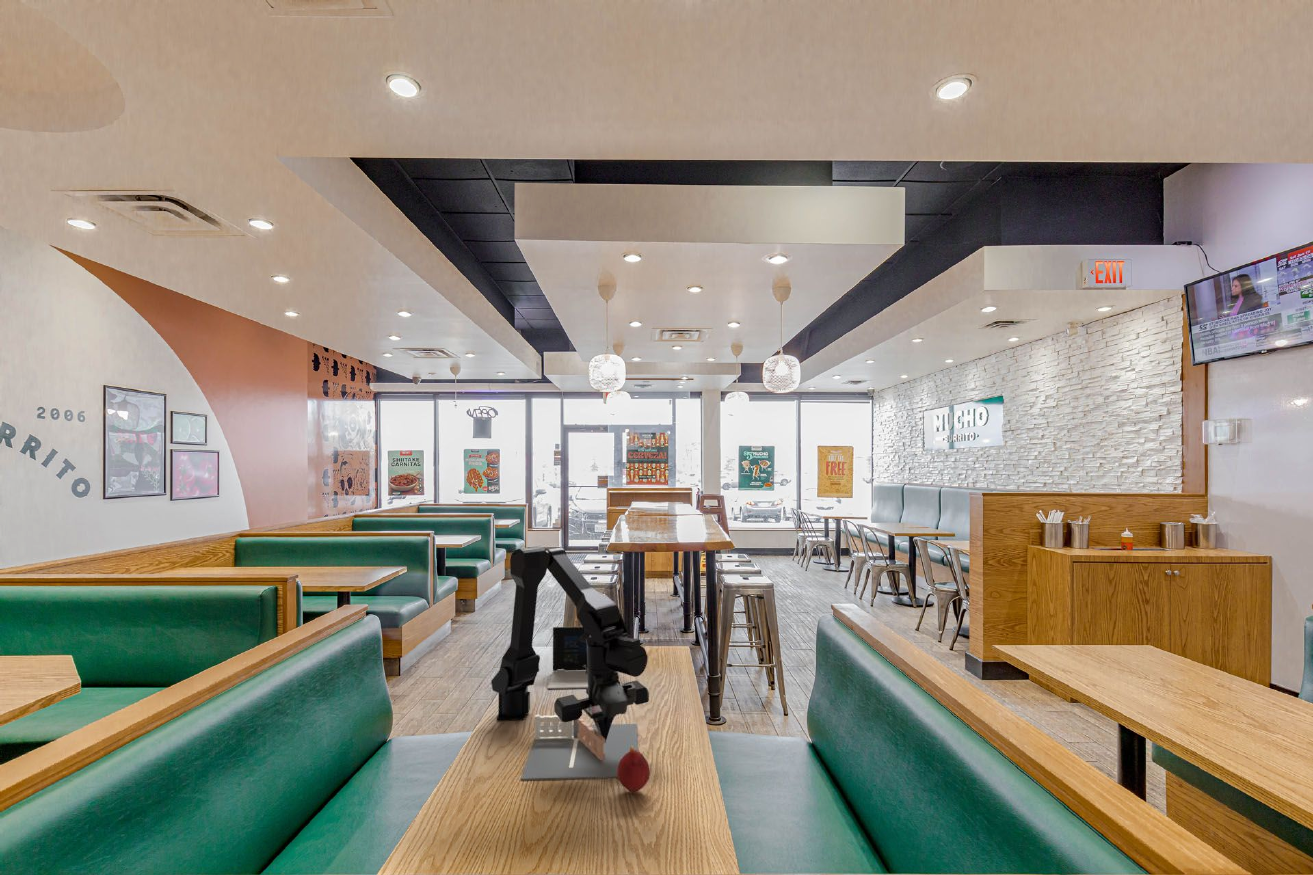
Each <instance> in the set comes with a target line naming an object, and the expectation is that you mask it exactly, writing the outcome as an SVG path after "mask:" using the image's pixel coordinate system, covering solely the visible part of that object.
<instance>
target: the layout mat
mask: <svg viewBox="0 0 1313 875" xmlns="http://www.w3.org/2000/svg"><path fill="white" fill-rule="evenodd" d="M589 725H590V726H591V727H592V728H593V729H595V730H596V731H597V732H598V730H597V728H596V725H595V724H589ZM540 730H544V725H540ZM550 730H553V725H550ZM559 730H561V724H559ZM638 740H639V739H638V724H637V723H621V724H620V723H616V724H615V723H614V724H613V723H612V724H611V727H610V730H609V733H608V736H607V739H606V743H605V744H603V753H604V754H605V759H604V760H599V759H598V758H597V756H596V755H595V754H594V753H592V752H591V750H590V749H589V748H588V747H586V746H585V744H583V743H582V742H581V741H580V740H579V739H578V738H574V737H573V724H572V739H567V737H561V736H558V737H553V736H549V737H544V736H540V739H538V740H535V737H534V738H533V741H532V744H531V748H530V750H529V753H528V757H527V759H526V762H525V765H524V767H523V771H522V773H521V777H520V781H546V780H547V781H548V780H581V779H582V780H583V779H585V780H587V779H589V780H590V779H618V775H617V770H618V765H619V762H620V760H621V759H622V758H623V756H624V755H625V754H627V753H628V752H630V747H631V746H633V747H634V748H635V749H636V750H637V751H638V752H639V747H638V746H639V744H638V743H639V742H638Z"/></svg>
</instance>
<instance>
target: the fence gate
mask: <svg viewBox="0 0 1313 875" xmlns="http://www.w3.org/2000/svg"><path fill="white" fill-rule="evenodd" d="M572 725H573V737H574V738H578V739H579V740H580V741H581V742H582V743H583V744H585V746H586V747H588V748H589V749H590V750H591V752H592V753H594V754H595V755H596V756H597V758H598V759H599V760H604V759H605V754H604V753H603V744H605V738H604V737H603V736H602V735H600V734H599V733H598V732H597V731H596V730H595V729H593V728H592V727H591V726H590V725H591V724H589V723H588V722H587V721H586V720H585V719H583V718H582V717H580V718H579V719H577V720H573V723H572Z"/></svg>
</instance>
